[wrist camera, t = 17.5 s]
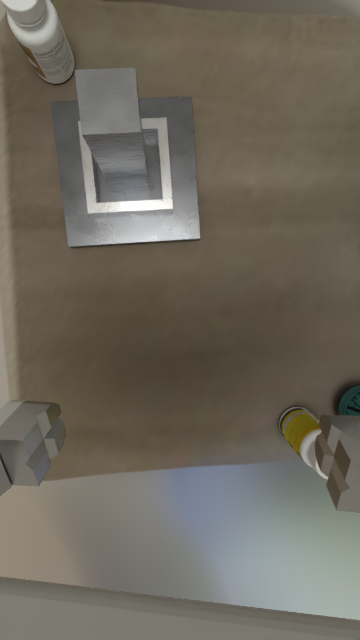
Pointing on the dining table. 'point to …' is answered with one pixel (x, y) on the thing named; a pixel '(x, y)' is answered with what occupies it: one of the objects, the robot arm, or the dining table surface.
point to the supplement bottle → (302, 434)
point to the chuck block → (131, 207)
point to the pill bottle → (41, 38)
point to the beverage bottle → (350, 402)
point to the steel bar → (114, 126)
